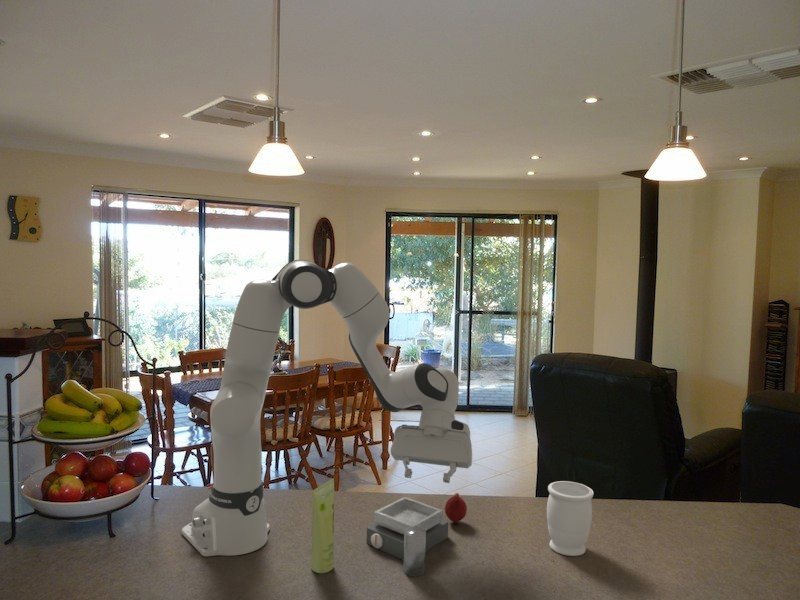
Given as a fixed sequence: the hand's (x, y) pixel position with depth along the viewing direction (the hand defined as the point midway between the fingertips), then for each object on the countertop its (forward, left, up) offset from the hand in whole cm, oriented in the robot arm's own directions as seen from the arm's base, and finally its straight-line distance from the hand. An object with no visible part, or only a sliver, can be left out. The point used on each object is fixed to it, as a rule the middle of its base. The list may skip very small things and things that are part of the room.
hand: (426, 479), depth 140 cm
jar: (+27, +23, -17) cm, 39 cm away
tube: (-11, -23, -17) cm, 31 cm away
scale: (-5, 0, -17) cm, 17 cm away
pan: (-5, 0, -12) cm, 13 cm away
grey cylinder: (+5, -10, -17) cm, 20 cm away
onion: (-1, +16, -17) cm, 23 cm away
